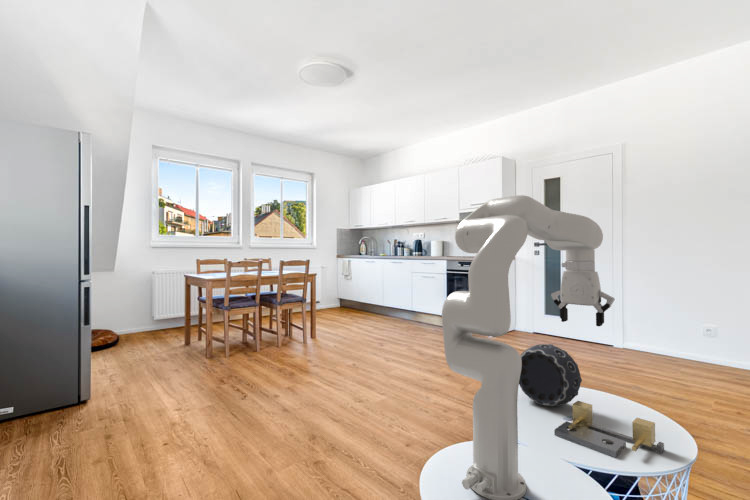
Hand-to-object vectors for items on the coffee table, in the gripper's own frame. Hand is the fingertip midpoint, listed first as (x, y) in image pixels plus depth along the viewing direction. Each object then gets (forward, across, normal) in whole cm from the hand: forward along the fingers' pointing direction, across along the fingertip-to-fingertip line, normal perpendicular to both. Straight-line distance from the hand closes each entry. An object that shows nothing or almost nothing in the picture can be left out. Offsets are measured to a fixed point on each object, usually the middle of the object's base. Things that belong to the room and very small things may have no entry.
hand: (581, 323), depth 108 cm
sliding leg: (+29, +15, -5) cm, 33 cm away
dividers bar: (+30, +9, -5) cm, 32 cm away
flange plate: (+30, +5, -10) cm, 32 cm away
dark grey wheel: (+31, -14, +7) cm, 34 cm away
